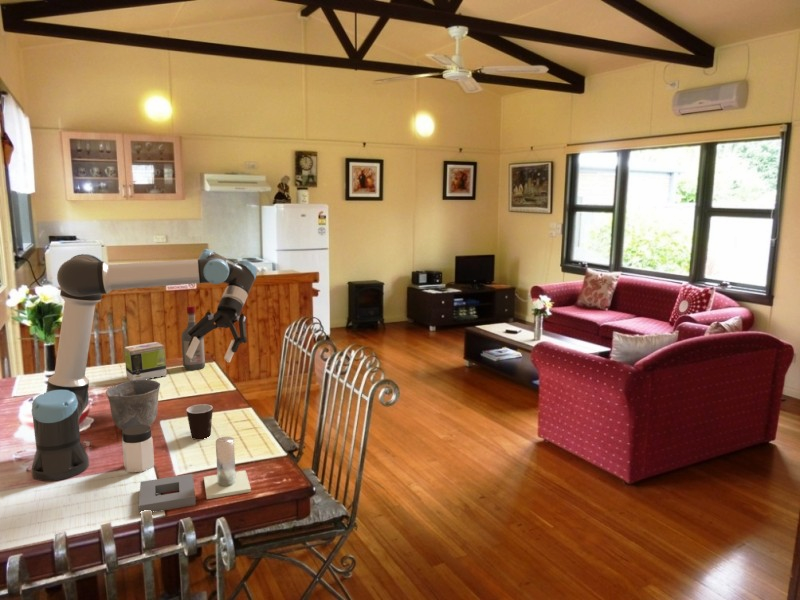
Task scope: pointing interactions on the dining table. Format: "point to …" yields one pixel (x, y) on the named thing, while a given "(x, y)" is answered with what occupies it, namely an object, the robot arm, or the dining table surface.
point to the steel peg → (225, 461)
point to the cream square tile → (218, 491)
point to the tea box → (145, 361)
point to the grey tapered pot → (134, 403)
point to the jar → (137, 448)
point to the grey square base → (167, 501)
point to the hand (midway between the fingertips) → (207, 358)
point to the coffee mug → (200, 420)
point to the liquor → (198, 356)
